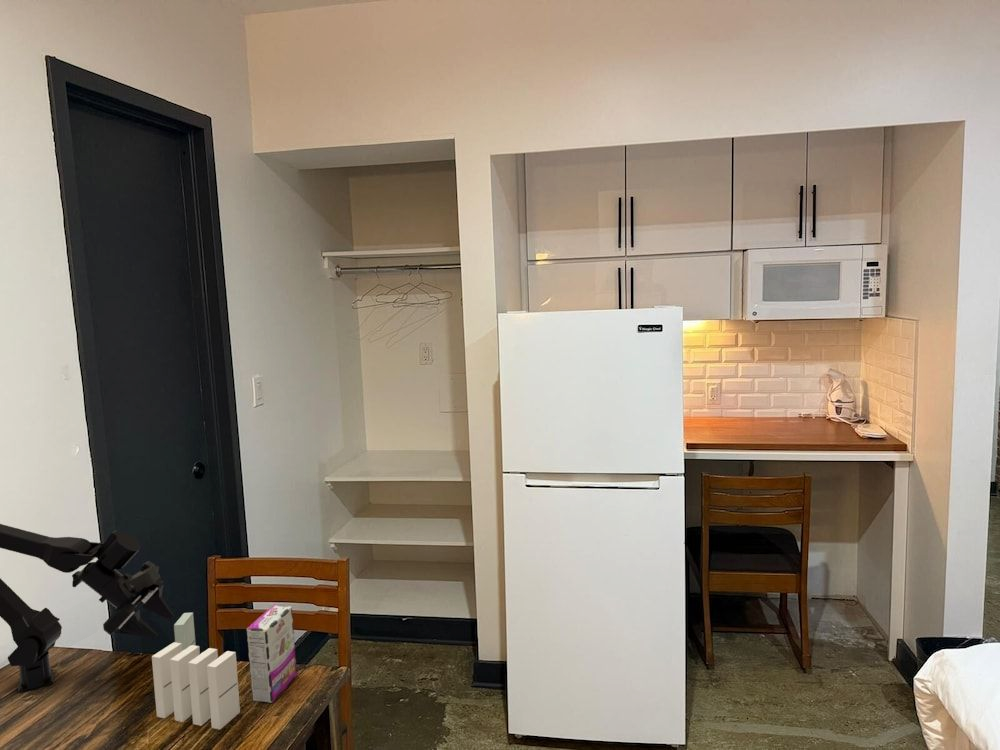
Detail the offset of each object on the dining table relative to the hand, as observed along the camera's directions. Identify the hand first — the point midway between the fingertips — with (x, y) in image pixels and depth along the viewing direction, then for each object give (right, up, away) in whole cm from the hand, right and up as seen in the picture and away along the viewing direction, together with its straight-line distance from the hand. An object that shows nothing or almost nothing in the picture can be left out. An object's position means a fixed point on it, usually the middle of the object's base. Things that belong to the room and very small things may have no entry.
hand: (164, 627), depth 158 cm
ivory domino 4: (+20, -13, -16) cm, 29 cm away
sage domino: (+5, -11, +2) cm, 12 cm away
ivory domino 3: (+16, -13, -15) cm, 25 cm away
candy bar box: (+26, -12, -5) cm, 29 cm away
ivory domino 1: (+7, -13, -12) cm, 19 cm away
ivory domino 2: (+12, -13, -14) cm, 22 cm away
